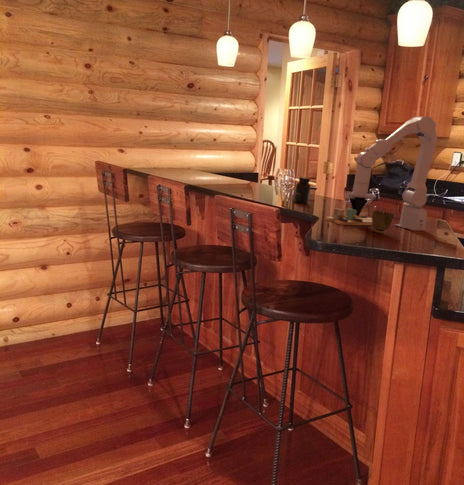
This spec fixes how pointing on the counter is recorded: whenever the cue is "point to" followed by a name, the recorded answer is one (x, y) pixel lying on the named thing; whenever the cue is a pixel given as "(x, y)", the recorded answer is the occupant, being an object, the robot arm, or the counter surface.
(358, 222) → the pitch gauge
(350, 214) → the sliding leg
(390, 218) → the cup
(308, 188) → the supplement bottle
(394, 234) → the counter surface
